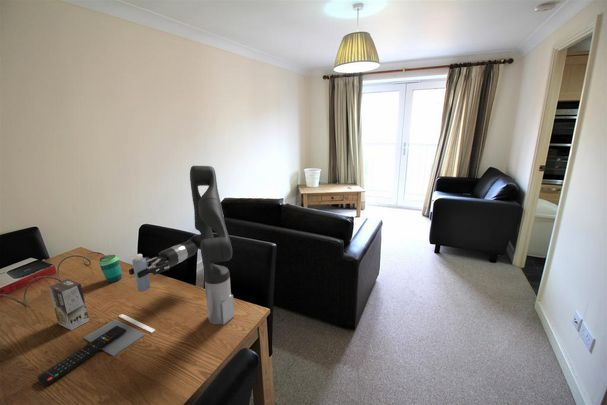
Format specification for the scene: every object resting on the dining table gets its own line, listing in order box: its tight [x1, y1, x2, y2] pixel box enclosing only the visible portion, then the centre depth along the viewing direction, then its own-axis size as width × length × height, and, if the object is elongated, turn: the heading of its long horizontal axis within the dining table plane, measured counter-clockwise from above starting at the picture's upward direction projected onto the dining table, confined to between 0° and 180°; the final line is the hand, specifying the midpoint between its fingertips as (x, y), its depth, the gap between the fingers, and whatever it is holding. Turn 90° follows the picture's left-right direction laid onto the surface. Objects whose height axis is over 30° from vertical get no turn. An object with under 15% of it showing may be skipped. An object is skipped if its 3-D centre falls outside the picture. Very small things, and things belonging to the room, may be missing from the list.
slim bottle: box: [132, 253, 151, 292], centre depth 106 cm, size 4×4×14 cm
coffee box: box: [48, 278, 90, 331], centre depth 105 cm, size 9×6×16 cm
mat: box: [83, 318, 146, 357], centre depth 100 cm, size 18×11×1 cm, turn 63°
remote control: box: [37, 326, 126, 387], centre depth 91 cm, size 5×24×1 cm, turn 156°
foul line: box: [118, 313, 156, 334], centre depth 107 cm, size 20×2×1 cm, turn 63°
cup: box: [98, 254, 122, 284], centre depth 135 cm, size 8×8×12 cm
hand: (134, 274), depth 103 cm, fingers closed on slim bottle, 4 cm apart
